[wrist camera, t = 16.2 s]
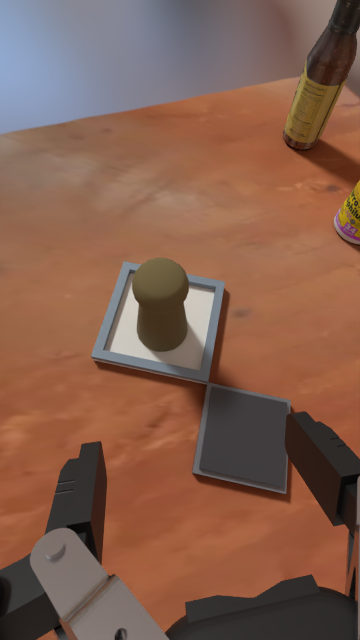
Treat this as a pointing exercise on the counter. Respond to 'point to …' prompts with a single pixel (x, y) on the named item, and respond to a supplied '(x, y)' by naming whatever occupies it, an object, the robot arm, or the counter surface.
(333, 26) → the sauce bottle
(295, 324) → the counter surface
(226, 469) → the ink pad
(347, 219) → the supplement bottle
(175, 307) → the olive tapered round piece
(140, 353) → the blank framed board
